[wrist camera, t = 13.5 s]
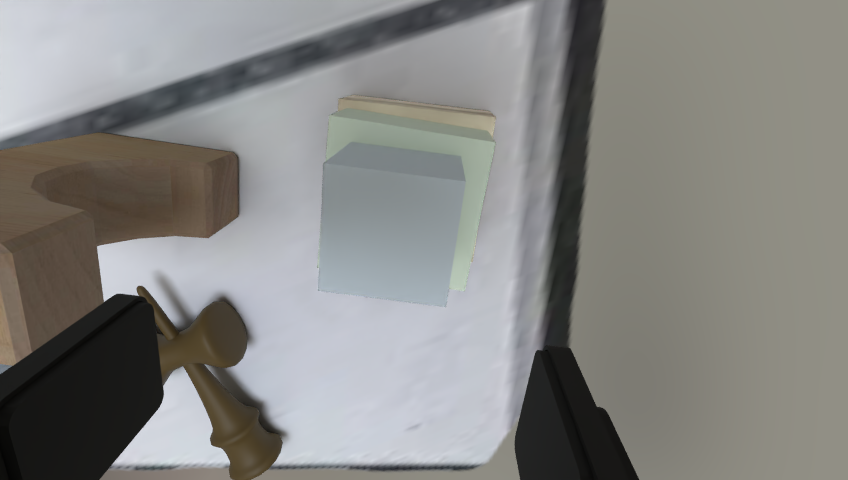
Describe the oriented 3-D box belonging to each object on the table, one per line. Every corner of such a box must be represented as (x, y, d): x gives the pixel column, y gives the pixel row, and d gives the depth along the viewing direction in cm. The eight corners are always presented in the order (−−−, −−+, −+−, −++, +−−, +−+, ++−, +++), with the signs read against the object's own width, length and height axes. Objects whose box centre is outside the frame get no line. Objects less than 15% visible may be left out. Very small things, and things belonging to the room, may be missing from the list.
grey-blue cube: (351, 141, 25) (323, 163, 19) (461, 156, 25) (465, 181, 19) (344, 244, 27) (317, 290, 21) (445, 257, 27) (445, 307, 21)
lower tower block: (353, 94, 33) (338, 98, 29) (488, 110, 33) (495, 117, 29) (346, 223, 37) (332, 245, 32) (469, 237, 37) (472, 262, 32)
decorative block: (241, 152, 35) (4, 248, 16) (239, 222, 37) (27, 378, 18) (97, 128, 35) (-310, 196, 16) (104, 199, 37) (-251, 333, 18)
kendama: (228, 450, 46) (112, 288, 40) (313, 424, 45) (207, 251, 38) (201, 503, 41) (60, 325, 34) (296, 475, 40) (169, 283, 33)
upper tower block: (347, 107, 29) (329, 115, 24) (487, 130, 29) (495, 142, 24) (336, 238, 32) (317, 267, 27) (461, 259, 32) (464, 291, 27)
